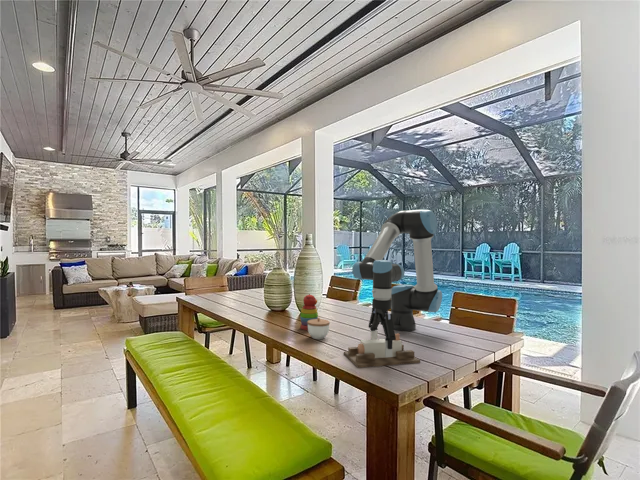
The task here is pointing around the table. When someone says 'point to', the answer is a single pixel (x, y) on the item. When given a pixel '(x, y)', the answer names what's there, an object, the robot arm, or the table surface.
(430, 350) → the table surface
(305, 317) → the stacking bear
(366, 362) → the cradle
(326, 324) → the lidded jar
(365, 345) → the block
